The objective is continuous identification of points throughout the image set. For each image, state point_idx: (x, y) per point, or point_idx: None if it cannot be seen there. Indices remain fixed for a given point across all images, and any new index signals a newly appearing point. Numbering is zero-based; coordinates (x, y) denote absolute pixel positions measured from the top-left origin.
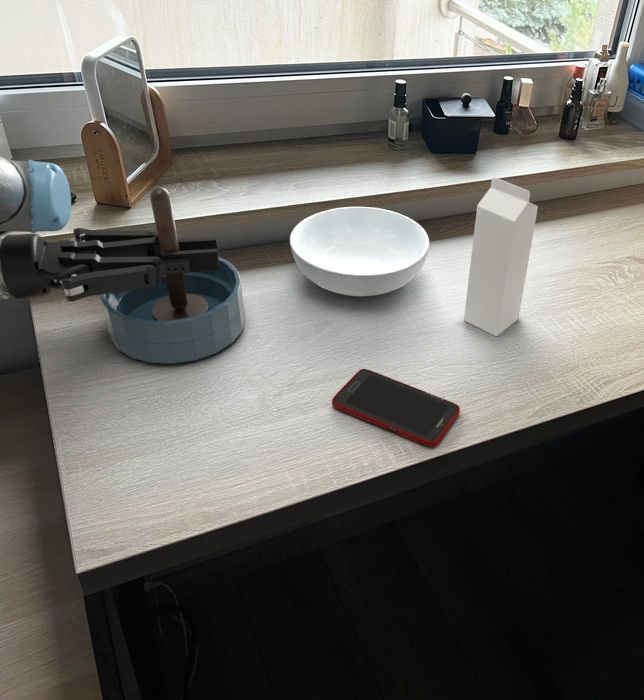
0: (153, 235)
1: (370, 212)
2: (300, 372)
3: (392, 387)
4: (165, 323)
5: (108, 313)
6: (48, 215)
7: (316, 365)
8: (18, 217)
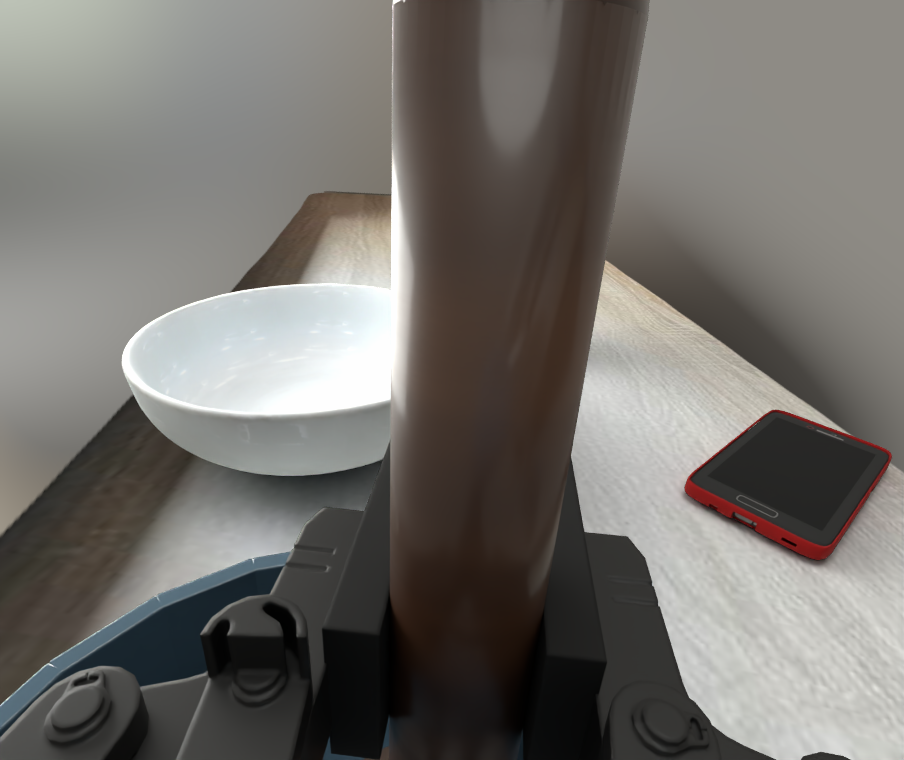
0: (143, 699)
1: (197, 313)
2: (686, 596)
3: (743, 459)
4: None
5: None
6: None
7: (652, 559)
8: None
